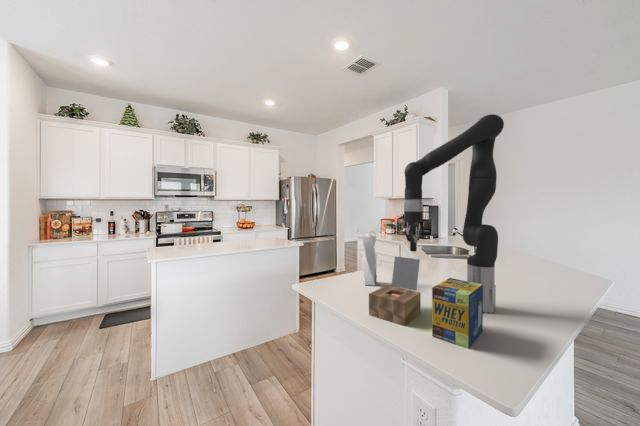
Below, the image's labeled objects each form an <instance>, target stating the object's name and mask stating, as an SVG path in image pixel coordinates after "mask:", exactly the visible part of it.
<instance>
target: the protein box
mask: <svg viewBox="0 0 640 426" xmlns="http://www.w3.org/2000/svg"><path fill="white" fill-rule="evenodd" d="M431 294H432V295H431V296H432V297H431V299H432V300H431V302H432V303H431V313H432V314H431V315H432V317H431V320H432V322H431V323H432V324H431V325H432V326H431V327H432V329H431V332H432V333H431V334H432V337H433V338H436V339H439V340H442V341H445V342H448V343H452V344H454V345H456V346H460V347H462V348H466V349H469V348H470V347H471V346H472V344H473V343H474V342H475V341H476V340H477V338H478V337H479V336H480V334H482V332H483V327H484V326H483V323H484V321H483V319H484V314H483V313H484V312H483V284H479V283H473V282H468V281H467V280H462V279H456V278H452V277H449V278H447V279H446V280H444V281H442V282H440V283H438V284H436V285H434V286H433V287H432V289H431Z"/></svg>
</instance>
